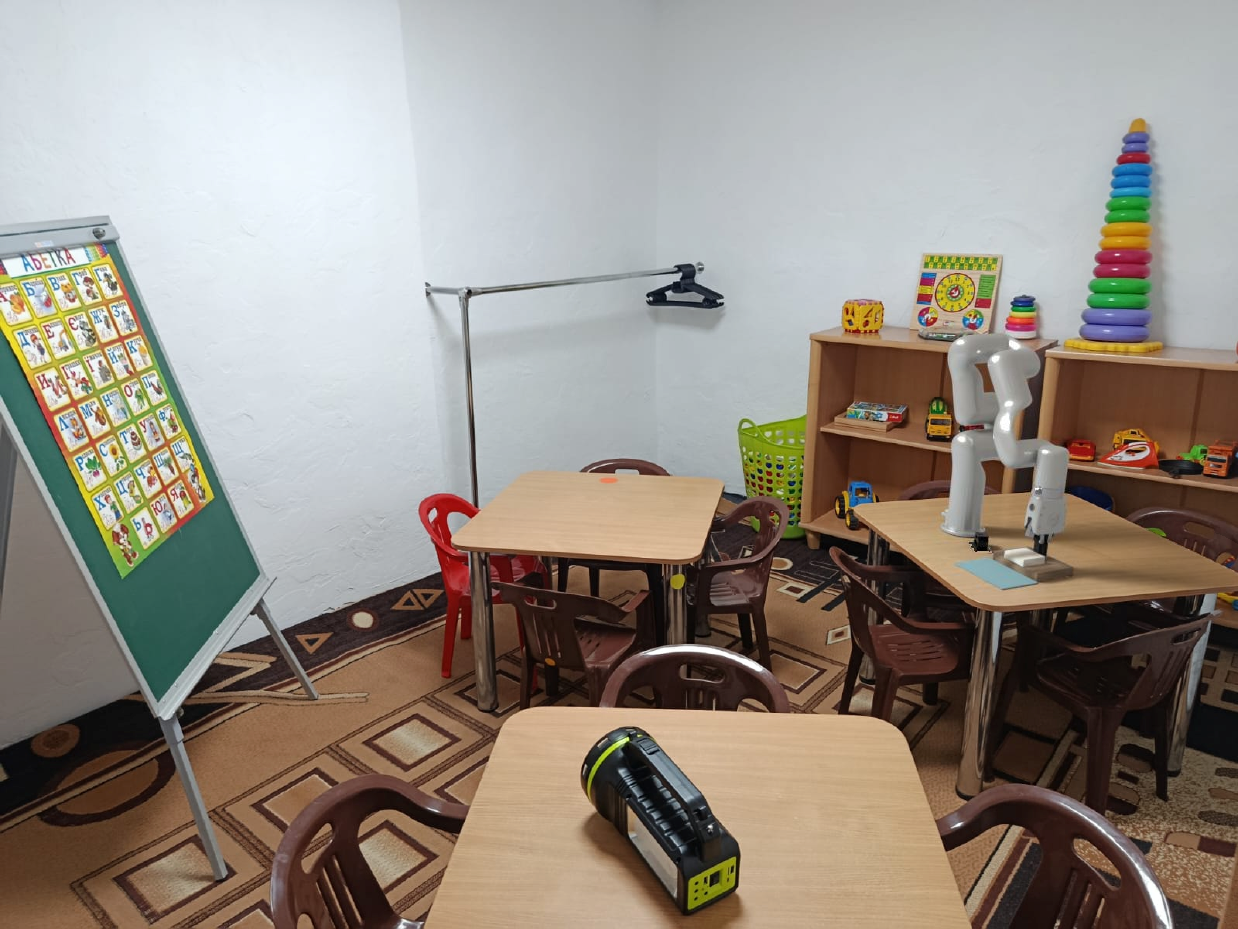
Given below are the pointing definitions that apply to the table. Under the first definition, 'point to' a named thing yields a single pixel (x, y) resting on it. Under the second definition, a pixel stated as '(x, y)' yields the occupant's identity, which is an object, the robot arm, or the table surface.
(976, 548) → the black irregular piece
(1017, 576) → the mat
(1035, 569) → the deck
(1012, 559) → the tile
